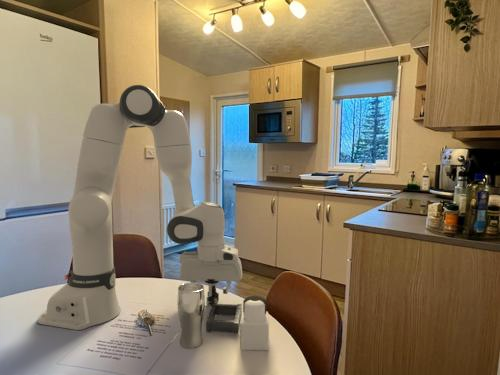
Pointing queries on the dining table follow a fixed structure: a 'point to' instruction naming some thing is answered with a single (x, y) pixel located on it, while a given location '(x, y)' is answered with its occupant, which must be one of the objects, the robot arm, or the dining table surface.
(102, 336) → the dining table surface
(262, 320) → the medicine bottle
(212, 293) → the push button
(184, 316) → the beer glass
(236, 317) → the frame
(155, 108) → the robot arm
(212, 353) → the dining table surface
